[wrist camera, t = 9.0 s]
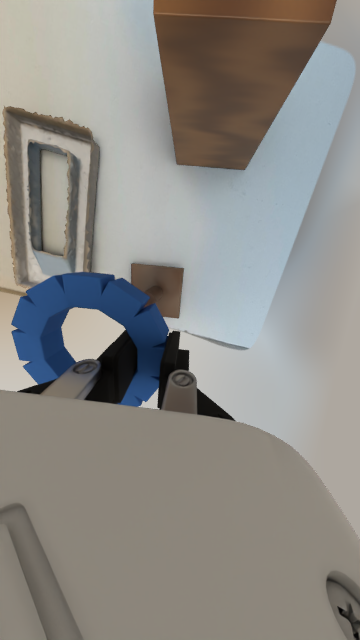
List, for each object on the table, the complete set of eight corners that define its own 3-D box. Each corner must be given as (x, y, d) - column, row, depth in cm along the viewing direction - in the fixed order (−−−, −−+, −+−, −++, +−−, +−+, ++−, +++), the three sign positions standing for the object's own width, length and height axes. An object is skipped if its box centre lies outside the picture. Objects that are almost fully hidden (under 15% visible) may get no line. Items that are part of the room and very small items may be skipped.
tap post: (183, 268, 29) (181, 271, 22) (179, 316, 33) (175, 331, 26) (133, 263, 30) (116, 264, 23) (134, 311, 33) (118, 325, 26)
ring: (175, 280, 10) (171, 284, 8) (165, 400, 13) (161, 420, 12) (24, 265, 10) (-8, 266, 9) (50, 386, 14) (31, 404, 12)
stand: (262, 70, 21) (448, -426, 6) (244, 170, 24) (331, 23, 9) (183, 65, 21) (163, -418, 6) (176, 164, 25) (153, 14, 10)
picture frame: (28, 283, 32) (13, 286, 30) (14, 113, 24) (-9, 94, 21) (95, 300, 33) (86, 304, 30) (105, 138, 24) (94, 123, 21)
